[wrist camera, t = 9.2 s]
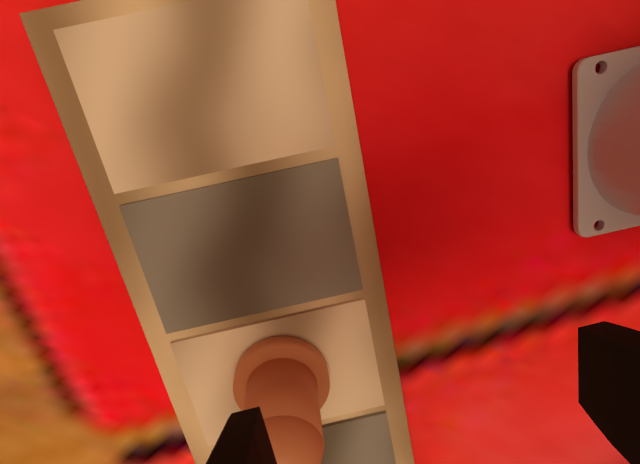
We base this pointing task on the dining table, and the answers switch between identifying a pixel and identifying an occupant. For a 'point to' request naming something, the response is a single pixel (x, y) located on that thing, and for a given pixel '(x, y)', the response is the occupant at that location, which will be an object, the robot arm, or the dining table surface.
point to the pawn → (286, 395)
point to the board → (232, 198)
